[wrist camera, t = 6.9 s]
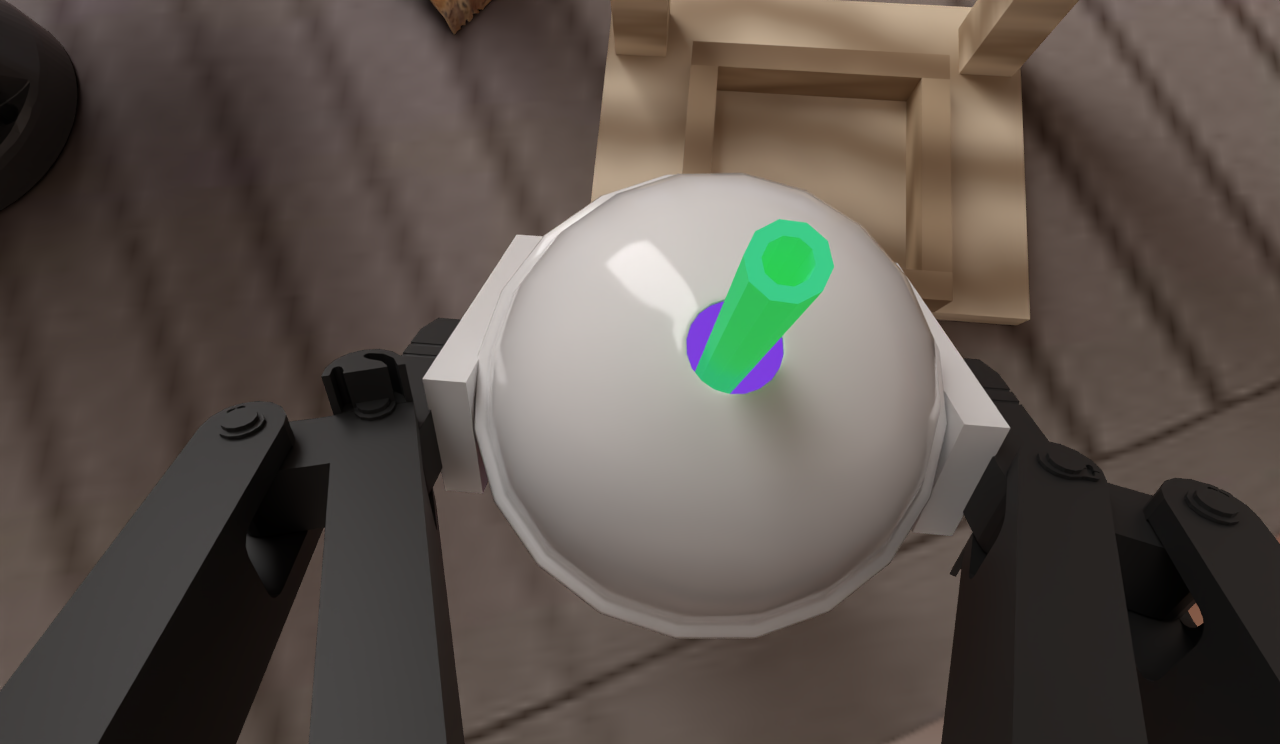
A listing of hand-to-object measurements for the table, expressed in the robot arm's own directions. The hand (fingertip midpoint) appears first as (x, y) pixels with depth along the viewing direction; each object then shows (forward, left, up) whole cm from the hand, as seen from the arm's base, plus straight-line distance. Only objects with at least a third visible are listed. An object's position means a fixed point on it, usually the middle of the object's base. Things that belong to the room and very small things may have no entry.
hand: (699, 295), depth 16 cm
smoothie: (+3, -2, -9) cm, 10 cm away
